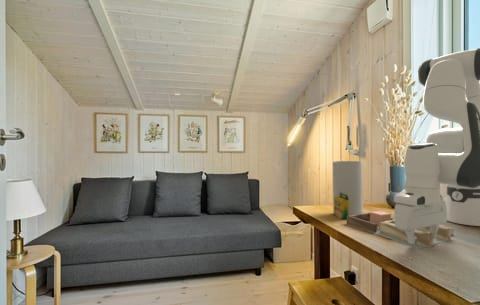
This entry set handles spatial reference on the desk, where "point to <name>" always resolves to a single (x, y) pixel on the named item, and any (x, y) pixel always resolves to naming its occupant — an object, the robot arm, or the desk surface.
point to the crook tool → (392, 230)
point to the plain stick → (439, 232)
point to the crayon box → (341, 207)
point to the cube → (379, 217)
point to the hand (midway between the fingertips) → (422, 240)
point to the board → (404, 240)
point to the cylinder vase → (348, 184)
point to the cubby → (362, 221)
